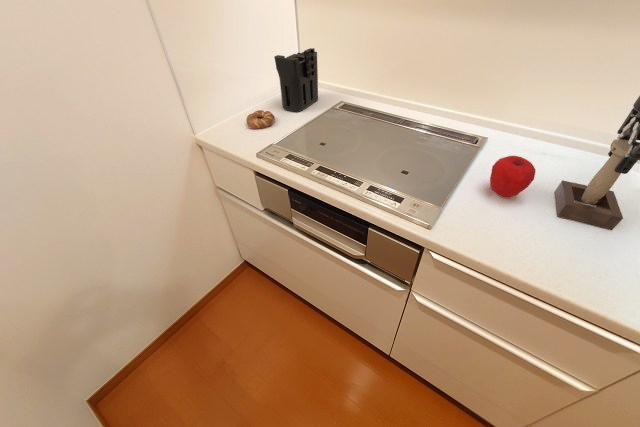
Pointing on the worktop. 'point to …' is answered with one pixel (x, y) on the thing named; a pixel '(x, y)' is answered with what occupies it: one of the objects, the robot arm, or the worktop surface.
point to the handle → (606, 173)
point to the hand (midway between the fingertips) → (616, 163)
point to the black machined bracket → (298, 79)
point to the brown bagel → (260, 119)
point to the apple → (511, 176)
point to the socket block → (586, 206)
